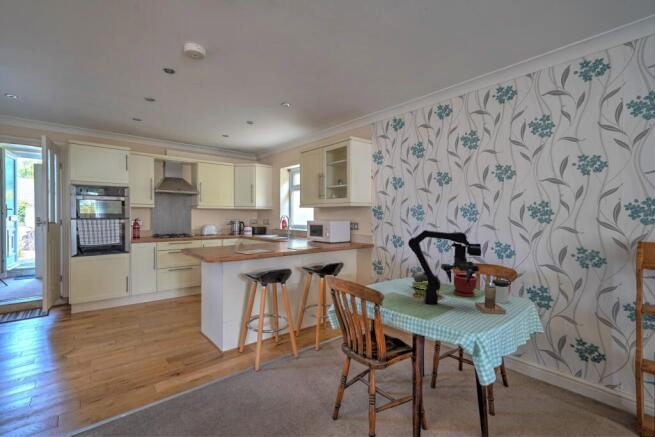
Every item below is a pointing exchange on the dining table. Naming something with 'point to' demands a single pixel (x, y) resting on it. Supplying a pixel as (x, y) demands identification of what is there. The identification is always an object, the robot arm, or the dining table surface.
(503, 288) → the jar
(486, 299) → the pepper mill
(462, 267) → the robot arm
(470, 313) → the dining table surface
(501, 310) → the stand
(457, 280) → the plant pot
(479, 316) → the dining table surface
